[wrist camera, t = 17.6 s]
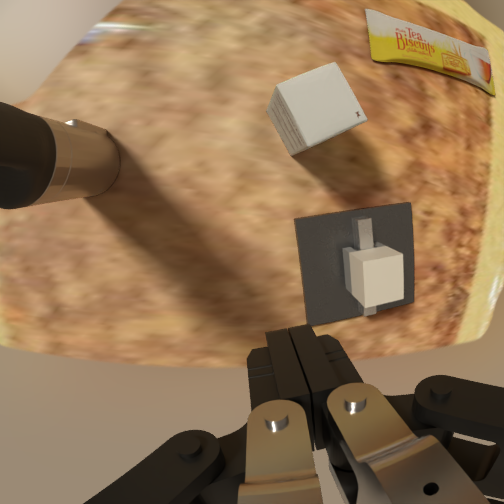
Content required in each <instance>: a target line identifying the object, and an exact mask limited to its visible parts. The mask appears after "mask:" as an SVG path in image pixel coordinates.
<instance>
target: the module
mask: <svg viewBox="0 0 504 504" xmlns="http://www.w3.org/2000/svg"><path fill="white" fill-rule="evenodd" d="M373 245H374V248H371V249H366V250H361V251H356V250H355V249H353V248H351V247H347V248H342V249H343V260H344V271H345V284H346V289H347V290H348V291H349V292H350V293H351V294H352V295H353V296H354V297H355V298H356V299H357V300H358V301H359V302H360V303H361V304H362V305H363V306H364V308H368V307H372V306H376V305H380V304H384V303H388V302H393V301H396V300H400V299H404V273H403V254H402V253H400V252H398V251H396V250H394V249H392V248H390V247H388V246H385V245H383V244H381V243H379V242H374V243H373Z"/></svg>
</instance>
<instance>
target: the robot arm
mask: <svg viewBox="0 0 504 504" xmlns="http://www.w3.org/2000/svg"><path fill="white" fill-rule="evenodd" d="M119 167H120V157H119V152H118V149H117V147H116V145H115V144H114V142H113V141H112V140H111V139H110V138H109V137H108V136H107V131H106V129H103V128H101V127H98V126H95V125H92V124H89V123H86V122H83V121H80V120H77V119H73V120H71V121H68V122H65V123H63V122H59V121H56V120H52V119H48V118H45V117H41V116H37V115H34V114H30V113H27V112H25V111H23V110H20V109H18V108H16V107H14V106H11V105H8V104H6V103H2V102H0V208H3V209H16V208H22V207H28V206H33V205H39V204H45V203H51V202H57V201H63V200H69V199H76V198H82V197H91V196H95V195H99V194H101V193H103V192H105V191H106V190H107V189H108V188H109V187H110V186H111V185H112V184H113V182H114V181H115V179H116V177H117V175H118V171H119ZM265 334H266V340H267V346H268V347H263V348H257V349H252V351H251V352H250V354H249V356H248V358H247V368H248V378H249V389H250V399H251V413H250V415H249V417H248V421H247V423H246V424H245V425H244V426H243V427H242V428H240V429H239V430H237V431H235V432H233V433H231V434H228V435H226V436H223V437H220V438H216V437H215V436H214V435H213V434H211V433H209V432H206V431H202V430H189V431H184V432H181V433H178V434H176V435H174V436H173V437H171V438H170V439H169V440H167V441H166V442H165V443H164V444H163V445H161V446H160V447H159V448H158V449H156V450H155V451H154V452H153V453H151V454H150V455H149V456H147V457H146V458H145V459H144V460H142V461H141V462H140V463H139V464H137V465H136V466H135V467H133V468H132V469H131V470H129V471H128V472H127V473H125V474H124V475H123V476H121V477H120V478H119V479H117V480H116V481H115V482H113V483H112V484H110V485H109V486H108V487H106V488H105V489H103V490H102V491H101V492H99V493H98V494H97V495H95V496H93V497H92V498H91V499H89V500H88V501H86V502H85V503H84V504H323V500H322V495H321V488H320V483H319V478H318V475H317V474H316V470H315V464H314V459H313V453H312V451H314V443H315V446H316V449H317V450H320V449H324V448H326V450H327V453H328V456H329V469H330V472H331V474H332V476H333V478H334V481H335V483H336V485H337V487H338V490H339V492H340V494H341V496H342V499H343V501H344V503H345V504H504V502H502V501H498V500H494V499H489V498H486V497H485V496H484V495H486V496H491V497H495V498H500V499H504V388H502V387H498V386H493V385H488V384H483V383H478V382H474V381H469V380H464V379H460V378H456V377H451V376H446V375H436V376H431V377H428V378H426V379H424V380H422V381H421V382H420V383H419V384H418V385H417V386H416V388H415V393H414V394H408V395H398V396H386V395H383V394H382V393H381V392H380V391H379V390H378V389H377V388H376V387H374V386H372V385H370V384H366V383H364V382H363V380H362V379H361V377H360V375H359V374H358V372H357V370H356V369H355V367H354V365H353V364H352V362H351V361H350V359H349V358H348V356H347V354H346V352H345V351H344V350H343V348H342V346H341V344H340V343H339V341H338V340H337V339H335V338H333V337H331V336H330V335H328V334H327V335H322V336H318V337H316V335H315V333H314V331H313V329H312V327H311V325H310V324H305V325H300V326H295V327H290V328H288V330H287V328H286V329H281V330H275V331H270V332H265ZM454 432H455V433H459V434H463V435H467V436H471V437H474V438H478V439H483V440H487V441H492V442H494V443H496V444H495V445H491V446H487V445H483V444H478V443H475V442H471V441H466V440H463V439H459V438H456V437H453V434H454Z"/></svg>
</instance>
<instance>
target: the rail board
mask: <svg viewBox="0 0 504 504" xmlns="http://www.w3.org/2000/svg"><path fill="white" fill-rule="evenodd" d="M294 223H295V231H296V238H297V245H298V253H299V261H300V269H301V277H302V285H303V293H304V302H305V311H306V320H307V324H310V325H311V326H313V325H318V324H323V323H328V322H333V321H338V320H342V319H347V318H351V317H356V316H360V315H363V316H368V315H372V314H376V312H377V311H381V310H385V309H389V308H393V307H397V306H401V305H404V304H408V303H412V302H414V247H413V226H412V212H411V203H410V202H404V203H397V204H389V205H382V206H375V207H368V208H361V209H354V210H347V211H341V212H334V213H327V214H321V215H314V216H308V217H301V218H295V219H294ZM374 242H379V243H381V244H383V245H385V246H388V247H390V248H392V249H394V250H396V251H398V252H400V253H402V254H403V273H404V299H400V300H396V301H393V302H388V303H384V304H380V305H376V306H372V307H368V308H364V306H363V305H362V304H361V303H360V302H359V301H358V300H357V299H356V298H355V297H354V296H353V295H352V294H351V293H350V292H349V291H348V290H347V289H346V284H345V271H344V260H343V249H342V248H347V247H351V248H353V249H355V250H356V251H361V250H366V249H371V248H374V245H373V243H374Z"/></svg>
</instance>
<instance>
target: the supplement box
mask: <svg viewBox="0 0 504 504" xmlns="http://www.w3.org/2000/svg"><path fill="white" fill-rule="evenodd" d="M266 112H267V113H268V115H269V117H270V119H271V120H272V122H273V124H274V126H275V128H276V130H277V131H278V133H279V135H280V137H281V139H282V141H283V143H284V144H285V146H286V148H287V150H288V152H289V154H290V156H293V155H295V154H298V153H300V152H302V151H304V150H307V149H309V148H311V147H313V146H315V145H318V144H320V143H322V142H324V141H326V140H328V139H331V138H333V137H335V136H337V135H339V134H341V133H343V132H345V131H347V130H349V129H351V128H353V127H355V126H358V125H360V124H362V123H364V122H366V121H368V119H367V117H366V116H365V114H364V112H363V110H362V108H361V106H360V105H359V103H358V101H357V99H356V97H355V95H354V93H353V91H352V90H351V88H350V86H349V84H348V83H347V81H346V79H345V77H344V76H343V74H342V72H341V70H340V69H339V67H338V66H337V64H336V63H335V62H333V63H330V64H327V65H324V66H322V67H319V68H316V69H314V70H311V71H308V72H306V73H303V74H301V75H298V76H296V77H293V78H291V79H289V80H286V81H284V82H282V83H280V84H277V85H276V87H275V90H274V93H273V95H272V97H271V100H270V103H269V105H268V108H267V110H266Z"/></svg>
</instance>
